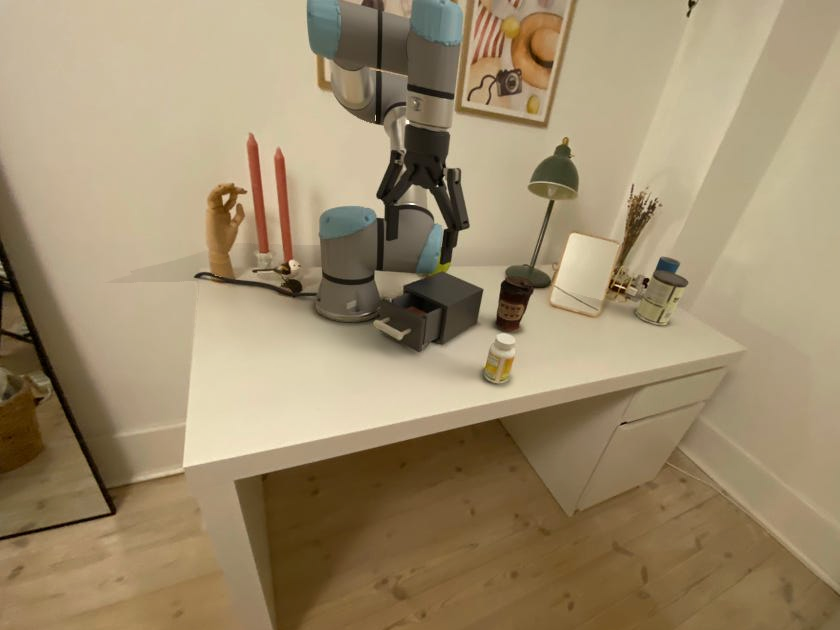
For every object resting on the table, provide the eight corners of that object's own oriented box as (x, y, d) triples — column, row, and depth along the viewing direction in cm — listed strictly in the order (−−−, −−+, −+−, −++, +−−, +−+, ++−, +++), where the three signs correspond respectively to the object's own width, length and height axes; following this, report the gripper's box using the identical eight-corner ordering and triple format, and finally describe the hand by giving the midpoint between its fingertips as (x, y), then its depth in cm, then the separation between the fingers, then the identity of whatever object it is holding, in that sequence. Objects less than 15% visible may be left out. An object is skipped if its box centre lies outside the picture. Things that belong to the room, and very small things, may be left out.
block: (425, 330, 86) (427, 313, 83) (413, 337, 83) (414, 320, 80) (410, 323, 87) (412, 306, 85) (397, 329, 84) (398, 312, 82)
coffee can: (640, 307, 127) (658, 267, 119) (670, 319, 123) (691, 279, 115) (631, 315, 120) (650, 274, 112) (663, 329, 116) (685, 287, 108)
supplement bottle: (483, 382, 77) (492, 343, 72) (483, 367, 82) (492, 329, 76) (508, 386, 78) (519, 347, 72) (507, 370, 82) (517, 333, 77)
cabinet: (442, 344, 86) (447, 306, 81) (400, 322, 91) (403, 285, 85) (476, 323, 97) (483, 288, 92) (438, 305, 102) (442, 271, 97)
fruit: (427, 267, 122) (430, 237, 117) (452, 276, 120) (457, 245, 115) (412, 275, 115) (415, 243, 110) (439, 284, 113) (443, 252, 107)
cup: (662, 301, 136) (681, 261, 127) (658, 306, 131) (679, 265, 122) (643, 294, 138) (661, 255, 130) (639, 299, 133) (658, 258, 125)
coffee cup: (520, 338, 95) (534, 291, 88) (489, 330, 96) (499, 283, 88) (524, 323, 102) (536, 278, 95) (494, 315, 103) (504, 270, 96)
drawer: (405, 360, 77) (408, 327, 73) (364, 337, 81) (365, 305, 77) (455, 331, 90) (460, 301, 86) (418, 312, 95) (421, 283, 90)
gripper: (356, 109, 63) (357, 233, 76) (479, 144, 55) (458, 278, 67) (387, 112, 69) (384, 227, 81) (503, 144, 60) (480, 268, 73)
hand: (417, 251), depth 74 cm, fingers open, 13 cm apart
